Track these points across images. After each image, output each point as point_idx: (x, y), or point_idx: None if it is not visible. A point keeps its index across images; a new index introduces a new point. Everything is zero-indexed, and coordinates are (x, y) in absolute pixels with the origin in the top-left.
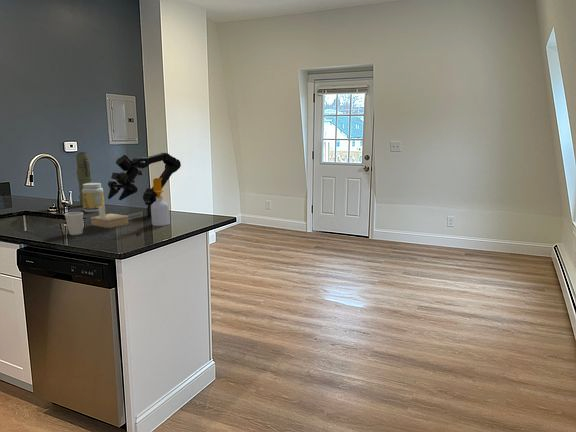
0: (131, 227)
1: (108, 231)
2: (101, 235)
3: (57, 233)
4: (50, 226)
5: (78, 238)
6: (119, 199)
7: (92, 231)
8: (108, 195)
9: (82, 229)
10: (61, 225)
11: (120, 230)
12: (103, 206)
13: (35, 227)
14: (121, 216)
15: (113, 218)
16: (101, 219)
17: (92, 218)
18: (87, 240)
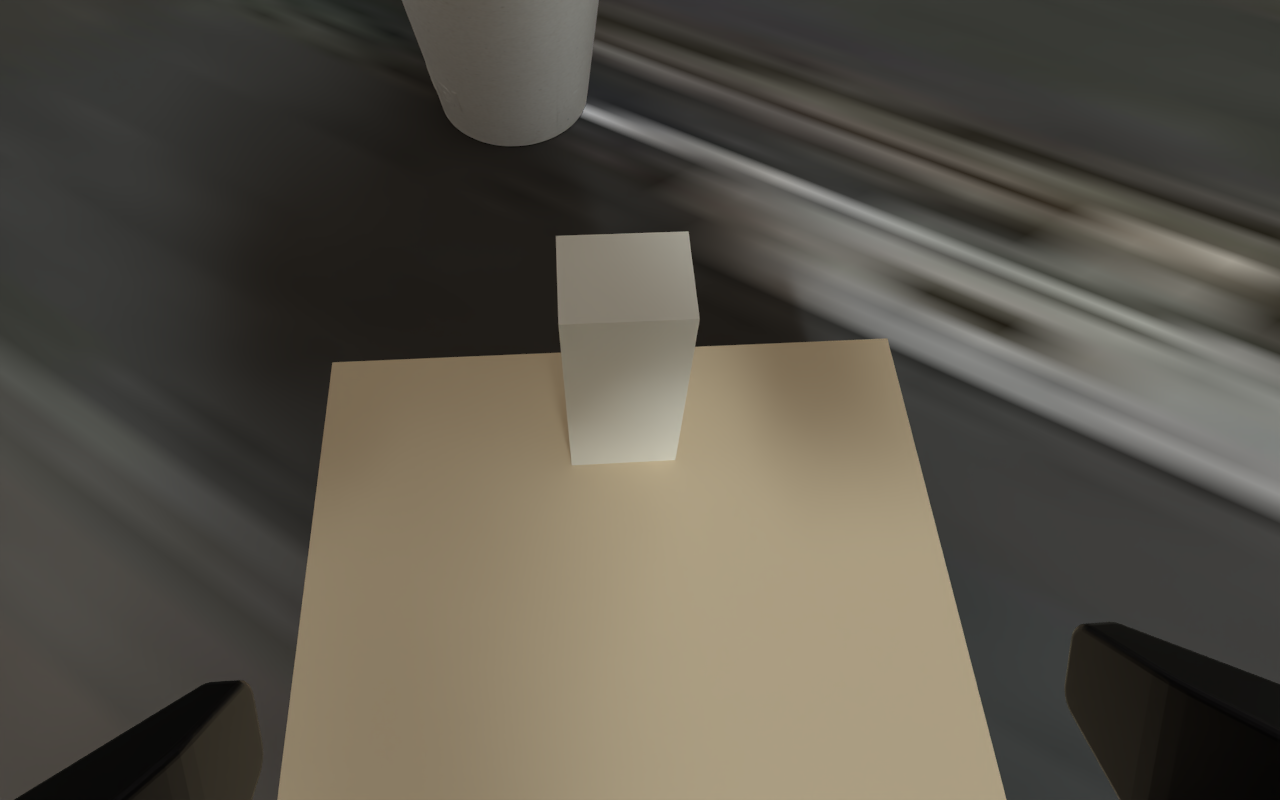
0: (23, 737)
1: (206, 339)
2: (111, 180)
3: (711, 15)
4: (1203, 124)
5: (266, 12)
6: (207, 698)
7: (433, 233)
8: (1244, 674)
9: (447, 94)
10: (1181, 210)
11: (61, 471)
12: (586, 305)
13: (1253, 33)
14: (377, 773)
15: (357, 515)
16: (530, 357)
17: (821, 351)
18: (86, 13)
